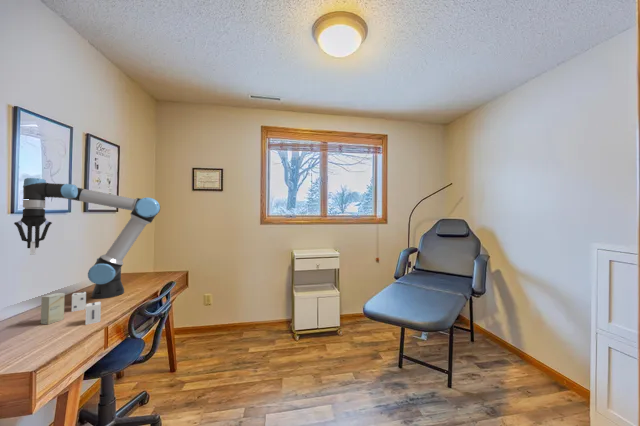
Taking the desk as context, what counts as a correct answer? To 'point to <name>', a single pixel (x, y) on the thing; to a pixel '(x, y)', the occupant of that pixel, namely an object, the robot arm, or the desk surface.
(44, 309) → the skincare box
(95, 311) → the marked block one
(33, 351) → the desk surface
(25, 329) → the desk surface
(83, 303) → the marked block two
